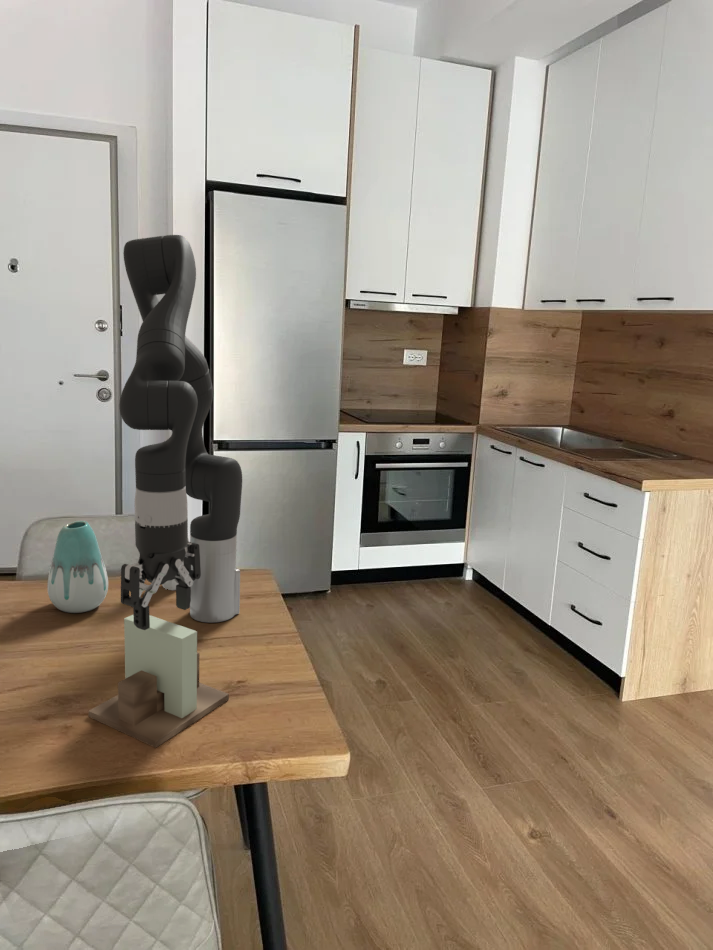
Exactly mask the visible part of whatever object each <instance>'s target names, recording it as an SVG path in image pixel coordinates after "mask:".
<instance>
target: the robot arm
mask: <svg viewBox="0 0 713 950" xmlns="http://www.w3.org/2000/svg"><path fill="white" fill-rule="evenodd" d="M122 253H123V262H124V267H125V271H126V275H127V278H128V282H129V285H130V288H131V291H132V295H133V297H134V300H135V303H136V306H137V309H138V311H139V314H140V317H141V320H142V323H141V324H140V328H139V330H138V334H137V340H136V356H135V357H136V358H135V364H134V366H133V369H132V371H131V373H130V375H129V376H128V378H127V380H126V382H125V384H124V386H123V388H122V390H121V394H120V399H119V405H118V407H119V414H120V417H121V419H122V421H123V422H124V423H125V425H126V426H127V427H129V428H130V429H132V430H137V431H171V432H172V433H171V435H170V436H169V438H167V439H166V440H164V441H162V442H158V443H153V444H149V445H145V446H141V447H140V448H139V449H137V450H136V453H135V456H134V470H135V494H134V535H135V536H134V537H135V541H134V542H135V547H136V549H137V551H138V553H139V557H138V561H137V563H134V564H127V563H123V564H122V565H121V569H120V603H121V604H122V605H127V606H129V607H132V610H133V613H132V615H133V616H134V625H135V626H136V627H137V628H139V629H142V630H146V629H148V628H149V627H150V616H149V615H150V605H149V603H150V602H151V598H152V596H153V595H154V594H156V593H157V592H158V589H159V587H160V586H162V584H164V583H165V582H167V581H169V580H173V579H174V580H175V581H176V582H177V583H178V585H176V590H175V602H176V603H175V605H176V608H178V609H179V610H183V611H185V610H188V609H189V616H190V617H191V618H192V619H194V621H198V622H202V623H220V622H225V621H228V620H230V619H232V618H233V617H235V616H236V615H238V614H240V607H241V606H240V604H241V601H240V599H241V594H240V593H241V570H240V569H239V568H237V551H238V549H237V543H238V541H237V539H238V526H239V522H240V518H241V517H240V516H241V507H242V506H241V504H242V493H243V492H242V491H243V472H242V467H241V465H240V463H239V462H238V460H236V459H234V458H232V457H228V456H220V455H215V454H209V453H208V452H207V449H206V447H205V441H204V436H203V428H204V427H203V426H204V424H205V421H206V419H207V417H208V414H209V412H210V408H211V407H212V403H213V400H214V388H213V383H212V382H213V381H212V378H211V374H210V369H209V365H208V362H207V358H206V357H205V355H204V354H203V353H202V352H201V350H200V349H199V348H198V347H197V346H196V345H195V343H193V342H192V341H191V340H190V339H189V338H188V337H187V336H186V332H187V331H186V330H187V325H188V319H189V316H190V311H191V308H192V303H193V298H194V292H195V288H196V282H197V281H196V280H197V269H196V260H195V256H194V252H193V249H192V246H191V243H190V242H189V240H188V239H187V238H186V236H183V235H181V234H166V235H159V236H151V237H144V238H143V237H142V238H135V239H131V240H128V241H127V242H125V244H124V246H123V252H122ZM157 295H158V296H159V295H163V296H162V298H161V299H160V300H159V298H158V296H157ZM187 495H188V496H187ZM188 497H189V498H192V499H193V500H194V499H195V500H200V501H204V502H209V503H211V505H210V513H208V514H202V515H200V516H197V517H195V518H193V519H192V520H191V522H190V524H188V523H189V522H188ZM188 525H190V526H188ZM188 527H189V528H188ZM188 530H189V531H188ZM188 534H190V535H188ZM188 538H189V541H188ZM182 562H183V563H184V565H183V563H182ZM146 581H147V582H148V583H150V584H146ZM142 594H143V596H142ZM141 596H142V597H141Z"/></svg>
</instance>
